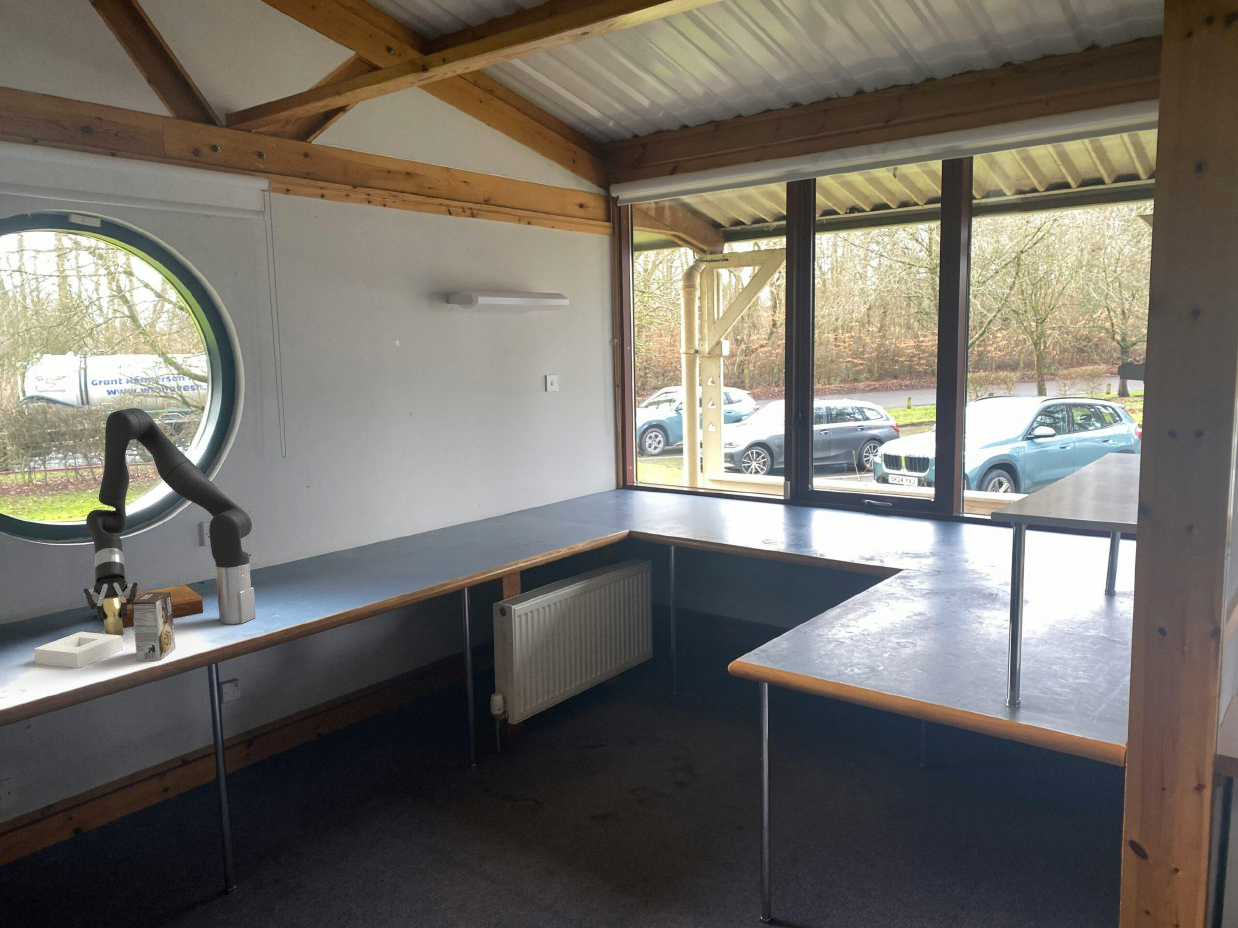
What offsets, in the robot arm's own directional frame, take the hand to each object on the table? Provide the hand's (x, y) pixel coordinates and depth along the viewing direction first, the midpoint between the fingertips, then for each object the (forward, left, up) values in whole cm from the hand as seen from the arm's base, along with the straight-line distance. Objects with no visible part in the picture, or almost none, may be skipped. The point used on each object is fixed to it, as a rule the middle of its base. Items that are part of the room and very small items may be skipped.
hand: (112, 617), depth 244 cm
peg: (+1, -1, -6) cm, 6 cm away
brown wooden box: (+6, -21, -6) cm, 23 cm away
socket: (-4, +15, -6) cm, 16 cm away
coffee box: (-23, +9, -6) cm, 25 cm away
